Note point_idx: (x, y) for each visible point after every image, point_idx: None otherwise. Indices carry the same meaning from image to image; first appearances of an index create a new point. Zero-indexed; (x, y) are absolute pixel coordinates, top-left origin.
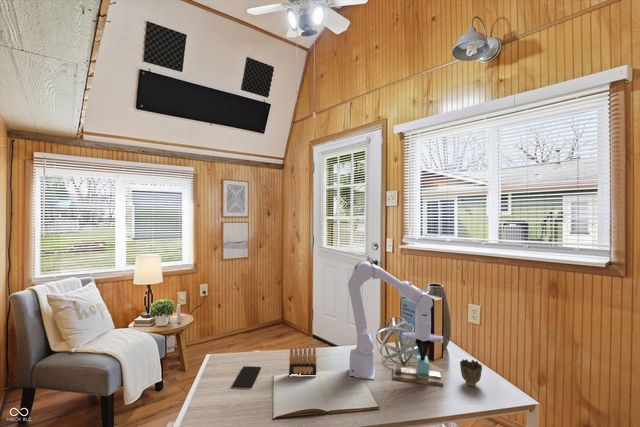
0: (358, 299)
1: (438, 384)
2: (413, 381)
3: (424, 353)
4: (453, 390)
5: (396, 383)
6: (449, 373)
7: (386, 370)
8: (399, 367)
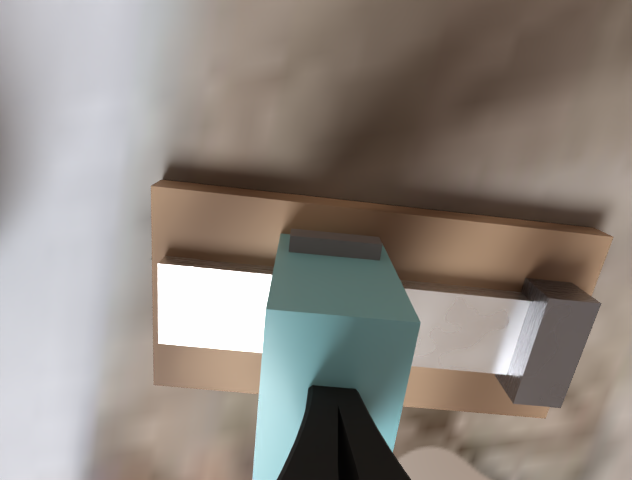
0: None
1: (201, 187)
2: (421, 209)
3: (318, 455)
4: (76, 120)
5: (582, 164)
6: (85, 387)
7: (601, 359)
8: (549, 342)
